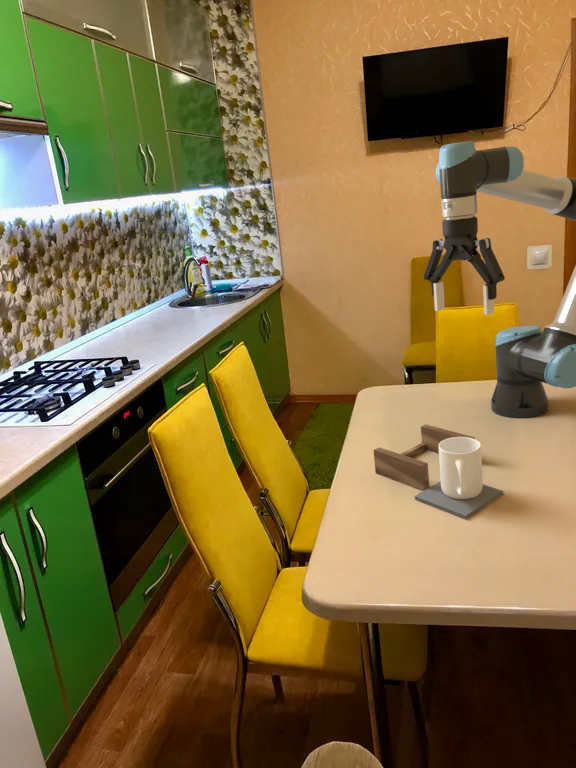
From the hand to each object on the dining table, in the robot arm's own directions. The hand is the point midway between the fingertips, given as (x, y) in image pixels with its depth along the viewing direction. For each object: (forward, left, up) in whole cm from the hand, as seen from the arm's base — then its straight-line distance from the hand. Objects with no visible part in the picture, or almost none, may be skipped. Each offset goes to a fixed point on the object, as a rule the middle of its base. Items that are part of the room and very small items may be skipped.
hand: (463, 311), depth 142 cm
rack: (+14, -2, -35) cm, 37 cm away
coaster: (+21, +13, -35) cm, 42 cm away
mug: (+21, +13, -34) cm, 42 cm away
